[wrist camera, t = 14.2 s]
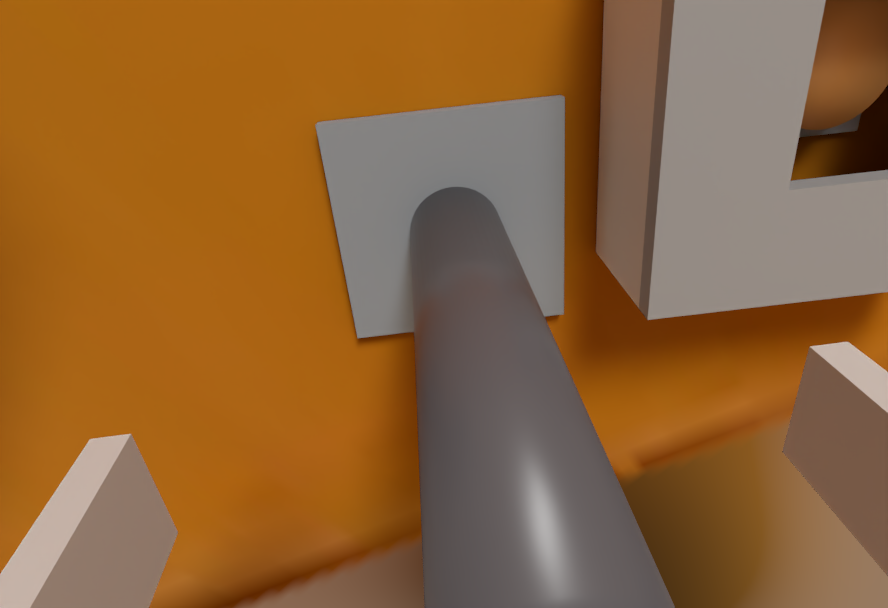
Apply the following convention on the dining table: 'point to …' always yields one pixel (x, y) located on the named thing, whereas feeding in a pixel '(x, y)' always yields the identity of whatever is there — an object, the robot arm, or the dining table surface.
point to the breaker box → (724, 163)
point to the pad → (437, 167)
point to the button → (847, 62)
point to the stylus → (508, 436)
